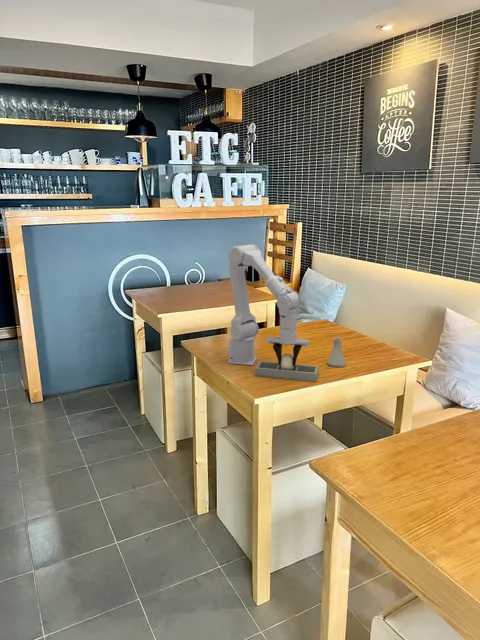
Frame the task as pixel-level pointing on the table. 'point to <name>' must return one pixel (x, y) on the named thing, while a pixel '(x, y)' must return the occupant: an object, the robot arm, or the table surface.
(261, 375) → the gray compartment tray
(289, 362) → the beige domed cylinder
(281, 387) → the table surface
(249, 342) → the robot arm
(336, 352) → the flask
